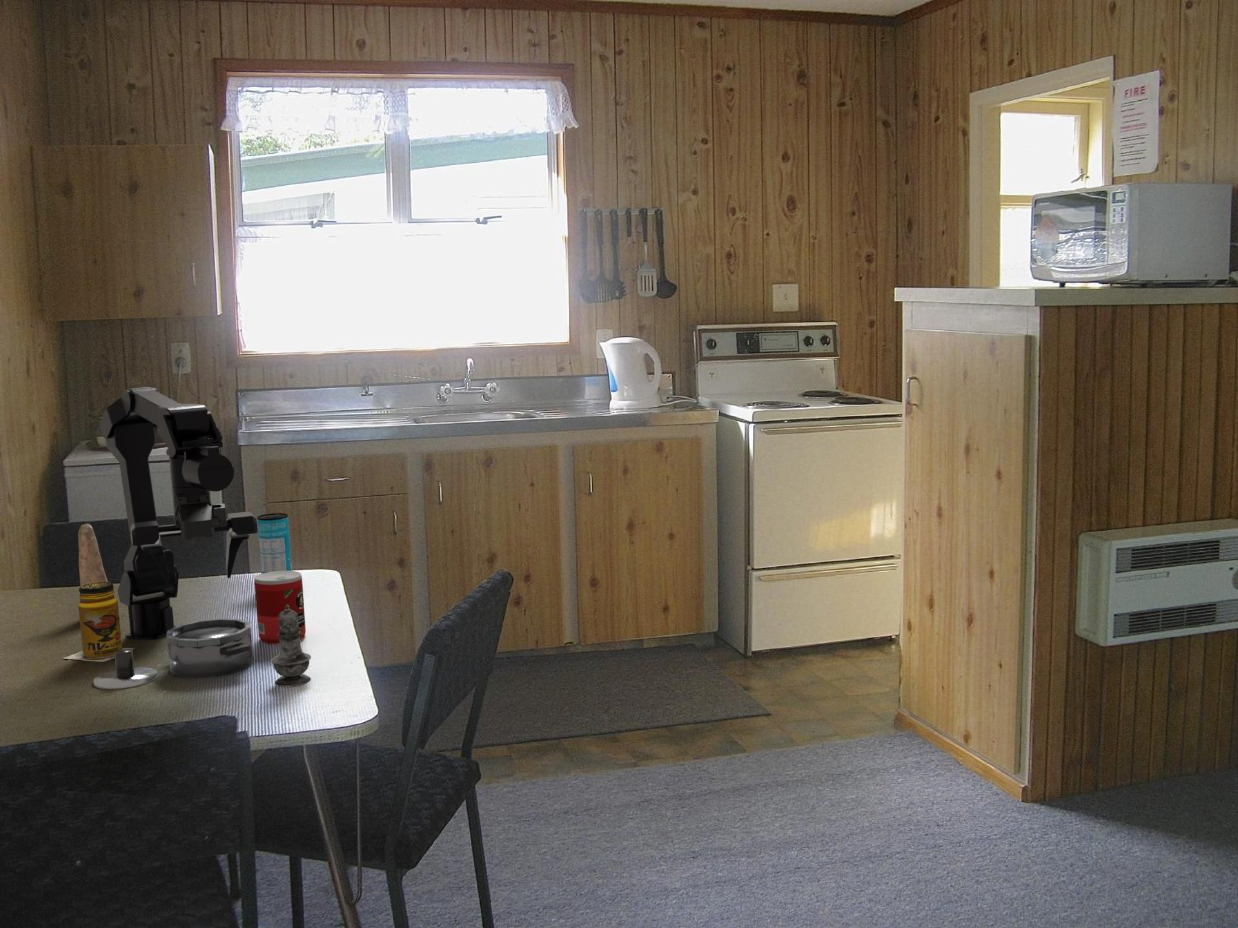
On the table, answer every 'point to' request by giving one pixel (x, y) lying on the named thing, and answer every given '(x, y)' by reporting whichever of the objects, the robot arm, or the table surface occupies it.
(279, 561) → the beverage can
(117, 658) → the lid
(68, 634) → the table surface
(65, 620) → the table surface
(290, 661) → the salt shaker
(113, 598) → the condiment
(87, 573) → the pink tall tapered cone
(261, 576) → the canned food
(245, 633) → the pot
